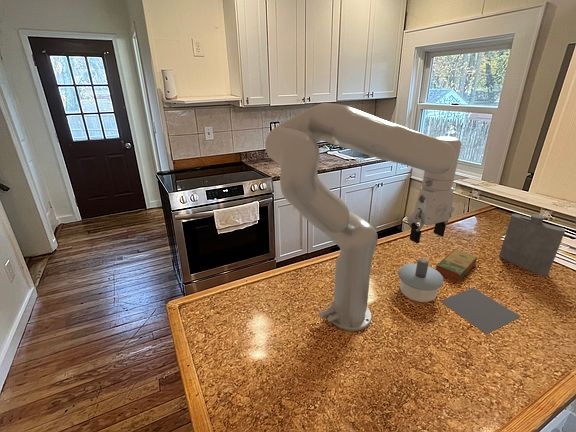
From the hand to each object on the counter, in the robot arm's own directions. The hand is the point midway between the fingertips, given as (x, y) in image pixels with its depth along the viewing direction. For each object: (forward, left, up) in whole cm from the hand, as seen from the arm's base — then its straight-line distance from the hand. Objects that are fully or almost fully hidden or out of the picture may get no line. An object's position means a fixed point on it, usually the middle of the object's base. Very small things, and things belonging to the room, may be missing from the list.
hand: (426, 238), depth 90 cm
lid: (0, 0, -14) cm, 14 cm away
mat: (+10, -14, -20) cm, 27 cm away
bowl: (0, 0, -20) cm, 20 cm away
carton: (+23, +4, -21) cm, 31 cm away
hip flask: (+46, -5, -21) cm, 51 cm away
